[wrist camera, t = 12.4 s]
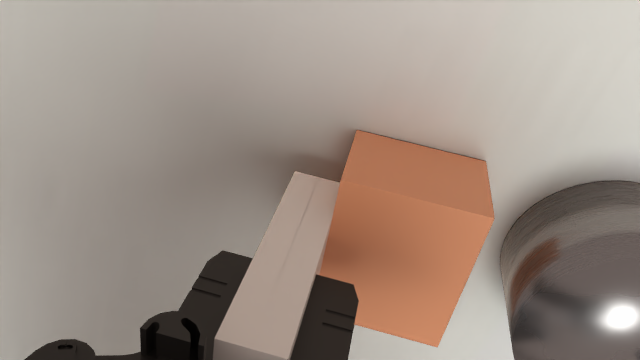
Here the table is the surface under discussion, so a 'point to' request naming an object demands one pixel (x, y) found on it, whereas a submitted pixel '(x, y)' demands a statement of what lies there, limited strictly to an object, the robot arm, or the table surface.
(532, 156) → the table surface
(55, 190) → the table surface
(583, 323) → the tongs fixed
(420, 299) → the terracotta clay cube
